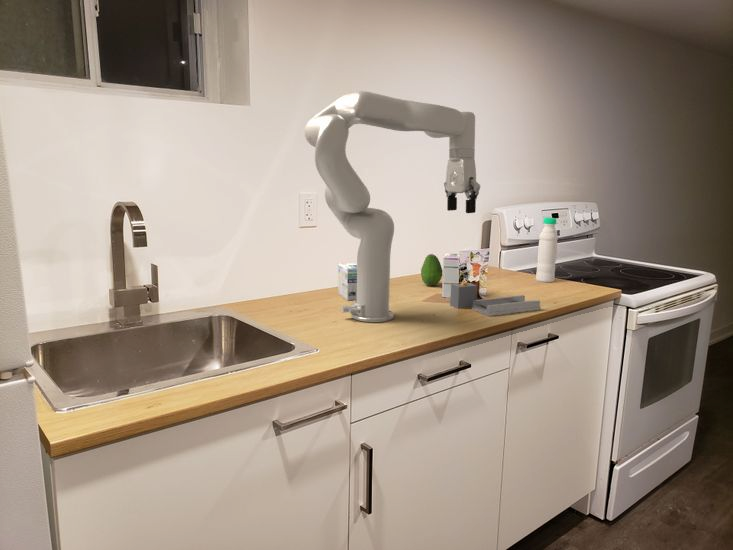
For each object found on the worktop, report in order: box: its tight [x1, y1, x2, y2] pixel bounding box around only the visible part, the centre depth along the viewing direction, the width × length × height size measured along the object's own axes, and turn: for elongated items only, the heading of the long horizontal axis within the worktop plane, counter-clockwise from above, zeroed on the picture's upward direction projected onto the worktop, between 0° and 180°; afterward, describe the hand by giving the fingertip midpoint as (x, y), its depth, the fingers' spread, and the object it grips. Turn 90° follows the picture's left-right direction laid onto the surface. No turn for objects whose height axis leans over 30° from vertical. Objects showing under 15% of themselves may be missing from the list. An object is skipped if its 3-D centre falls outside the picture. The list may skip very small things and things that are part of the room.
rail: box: [471, 294, 542, 317], centre depth 175 cm, size 20×9×3 cm, turn 116°
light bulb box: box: [337, 262, 357, 301], centre depth 188 cm, size 11×7×11 cm, turn 20°
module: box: [449, 281, 478, 310], centre depth 179 cm, size 7×4×8 cm, turn 116°
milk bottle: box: [535, 217, 559, 283], centre depth 219 cm, size 7×7×25 cm
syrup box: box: [441, 253, 461, 299], centre depth 191 cm, size 6×6×14 cm
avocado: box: [420, 253, 443, 287], centre depth 208 cm, size 8×8×12 cm
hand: (461, 211), depth 172 cm, fingers open, 9 cm apart
